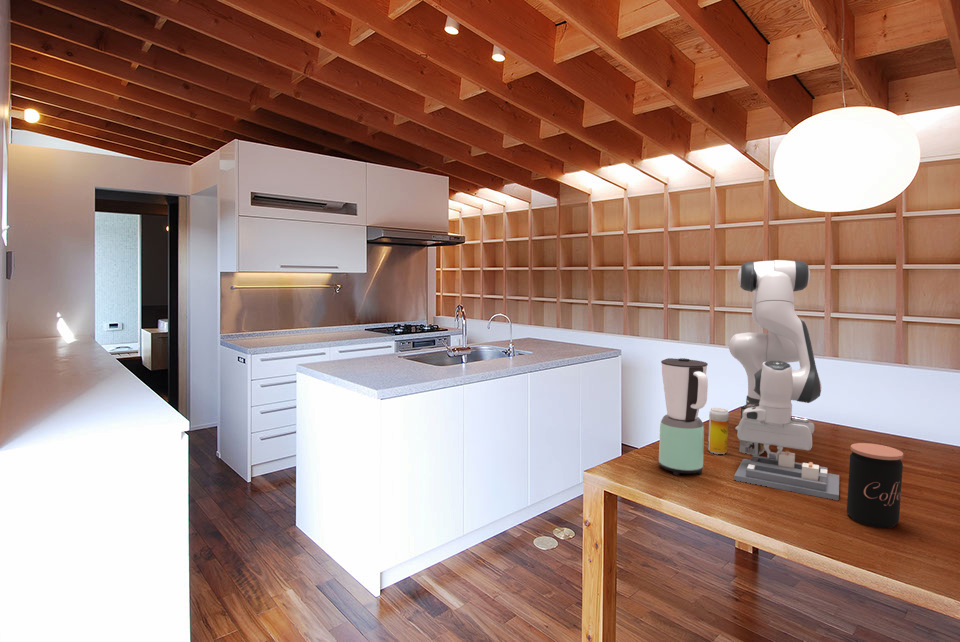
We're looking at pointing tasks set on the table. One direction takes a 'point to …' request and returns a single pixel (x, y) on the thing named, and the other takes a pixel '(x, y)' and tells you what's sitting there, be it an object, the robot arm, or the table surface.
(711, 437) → the beer can
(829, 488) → the switch bank
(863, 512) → the coffee jar
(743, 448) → the coffee box
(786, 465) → the tab
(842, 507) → the table surface
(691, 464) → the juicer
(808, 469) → the tab
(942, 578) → the table surface
